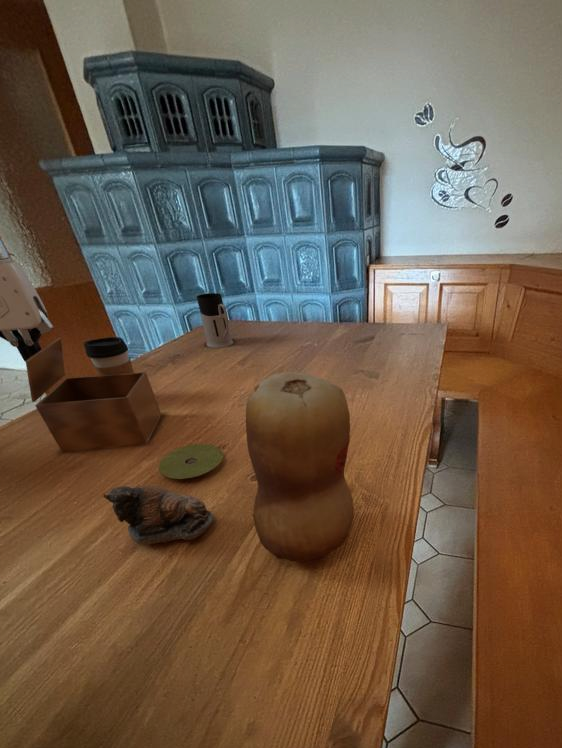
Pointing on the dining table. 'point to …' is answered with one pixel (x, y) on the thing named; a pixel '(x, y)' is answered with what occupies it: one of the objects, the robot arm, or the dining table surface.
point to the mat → (190, 461)
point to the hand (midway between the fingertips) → (38, 365)
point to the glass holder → (214, 320)
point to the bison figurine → (159, 514)
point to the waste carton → (101, 411)
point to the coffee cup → (109, 356)
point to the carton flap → (45, 369)
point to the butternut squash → (299, 465)
